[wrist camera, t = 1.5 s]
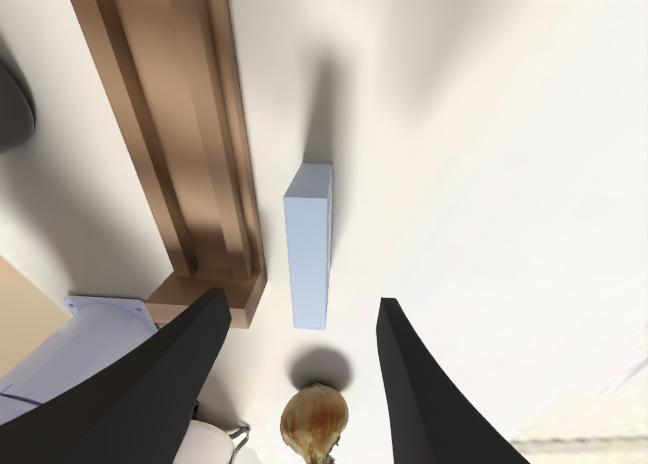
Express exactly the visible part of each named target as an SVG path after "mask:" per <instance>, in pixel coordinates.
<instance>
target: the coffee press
mask: <svg viewBox="0 0 648 464" xmlns="http://www.w3.org/2000/svg"><path fill="white" fill-rule="evenodd" d="M198 406H199V402H196V401H195V404H194V406H193V409H192V412H191V414H190V417H189V419H188V422H187V425H186V427H185V430H184V433H183V436H182V438H181V441H180V444H179V447H178V449H177V452H176V455H175V458H174V461H173V464H233V463H234V460H235V457H236V454H237V452H238V451H239V450H240V448H241V447H242V446H243V445H244V444H245V443H246V442H247V441H248V439H249V431H248V429H247V428H246V427H243V428H241V429H240V430H238V431H237V432H235V433H234V434H231V435H227V434H226V433H225V432H224V431H222V430H221V429H219V428H217V427H215V426H213V425H210V424H207V423H204V422H201V421H197V411H198ZM243 432H246V433H247V436H246V437H245V438H244V439H243V440H242V441H241V443H240V444H239V445H238V446H237V447H236V449H235V451H234V444H233V441H232V439H234V438H236V437H238V436H239V435H240V434H242V433H243Z"/></svg>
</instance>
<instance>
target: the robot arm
mask: <svg viewBox="0 0 648 464" xmlns="http://www.w3.org/2000/svg"><path fill="white" fill-rule="evenodd" d="M64 302H65V303H66V304H67V306H68V307H69V309H70V310H71V311H72V313H73V314H74V315H75V316H74V317H73V318H72V319H70V320H69V321H68V322H67V323H66V324H65V325H63V326H62V327H61V328H60V329H59V330H57V331H56V332H55V333H54V334H53V335H52V336H51V337H49V338H48V339H47V340H46V341H45V342H43V343H42V344H41V345H40V346H39V347H38V348H36V349H35V350H34V351H33V352H32V353H31V354H29V355H28V356H27V357H26V358H25V359H23V360H22V361H21V362H20V363H19V364H18V365H16V366H15V367H14V368H13V369H12V370H11V371H9V372H8V373H7V374H6V375H5V376H4V377H3V378H1V379H0V464H173V461H174V458H175V455H176V452H177V449H178V447H179V444H180V441H181V438H182V436H183V433H184V430H185V427H186V425H187V422H188V419H189V417H190V414H191V412H192V409H193V406H194V404H195V401H196V399H197V397H198V395H199V392H200V390H201V388H202V386H203V384H204V382H205V380H206V378H207V376H208V374H209V372H210V370H211V368H212V366H213V364H214V362H215V360H216V357H217V355H218V353H219V351H220V349H221V347H222V345H223V343H224V341H225V338H226V335H227V332H228V330H229V327H230V324H231V320H232V317H231V313H230V309H229V306H228V302H227V298H226V294H225V291H224V288H210V289H209V290H208V291H207V292H205V293H204V294H203V295H202V296H201V297H199V298H198V299H197V300H196V301H195V302H193V303H192V304H191V305H190V306H189V307H188V308H186V309H185V310H184V311H183V312H182V313H180V314H179V315H178V316H177V317H175V318H174V319H173V320H172V321H171V322H169V323H168V324H167V325H165V326H164V327H163V328H162V329H160V330H159V331H158V329H157V327H156V325H155V323H154V322H153V320H152V318H151V316H150V314H149V312H148V310H147V308H146V306H145V304H144V302H143V301H141V300H137V299H120V298H103V297H86V296H67V297H66V298H64ZM376 334H377V347H378V355H379V361H380V366H381V372H382V377H383V382H384V388H385V393H386V399H387V404H388V410H389V417H390V426H391V436H392V446H393V457H394V464H530V463H529V462H528V461H527V460H526V459H525V458H524V457H523V456H522V455H521V454H520V453H519V452H518V451H517V450H516V449H515V448H514V447H513V446H512V445H511V444H509V443H508V442H507V441H506V440H505V439H504V438H503V437H502V436H501V435H500V434H499V433H498V432H497V431H496V429H495V428H494V427H493V426H492V425H491V424H490V423H489V422H488V421H487V420H486V419H485V418H484V417H483V416H482V415H481V414H480V413H479V412H478V411H477V410H476V408H475V407H474V406H473V405H472V404H471V403H470V402H469V401H468V400H467V398H466V397H465V396H464V395H463V394H462V393H461V392H460V390H459V389H458V388H457V387H456V386H455V385H454V383H453V382H452V381H451V380H450V378H449V377H448V376H447V375H446V374H445V372H444V371H443V370H442V368H441V367H440V366H439V364H438V363H437V362H436V360H435V359H434V358H433V356H432V355H431V354H430V352H429V351H428V349H427V348H426V347H425V345H424V344H423V342H422V341H421V339H420V338H419V336H418V335H417V333H416V332H415V330H414V328H413V327H412V325H411V324H410V322H409V320H408V319H407V317H406V315H405V314H404V312H403V310H402V308H401V306H400V305H399V303H398V301H397V300H396V299H395V298H382V297H381V302H380V308H379V314H378V320H377V326H376Z"/></svg>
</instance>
